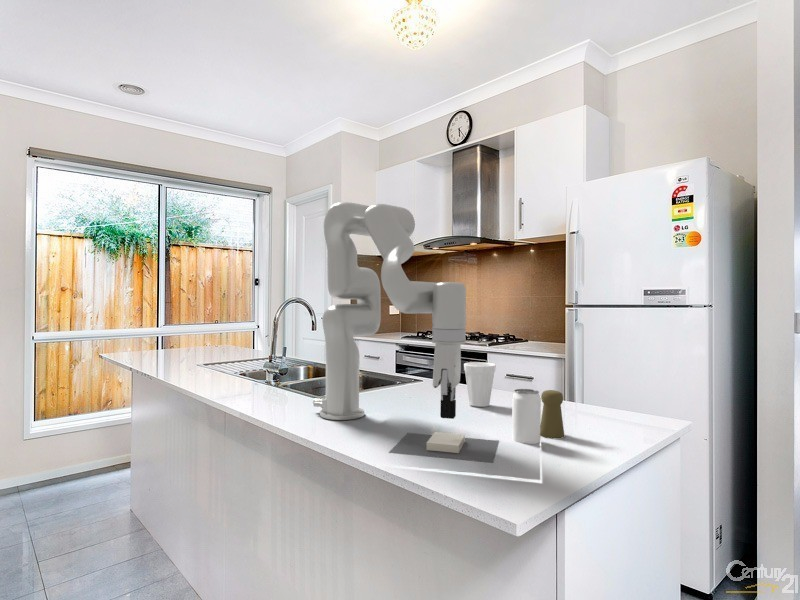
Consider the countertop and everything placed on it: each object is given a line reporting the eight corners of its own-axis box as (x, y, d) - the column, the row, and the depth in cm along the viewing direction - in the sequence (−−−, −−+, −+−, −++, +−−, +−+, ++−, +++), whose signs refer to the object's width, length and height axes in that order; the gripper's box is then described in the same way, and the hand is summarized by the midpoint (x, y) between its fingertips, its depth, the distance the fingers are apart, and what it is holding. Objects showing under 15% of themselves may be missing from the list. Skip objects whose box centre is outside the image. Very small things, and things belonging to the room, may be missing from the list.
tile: (434, 439, 114) (426, 450, 106) (435, 431, 114) (426, 442, 106) (464, 441, 112) (458, 453, 104) (464, 434, 112) (458, 445, 104)
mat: (388, 455, 104) (388, 452, 104) (407, 435, 120) (407, 432, 120) (493, 465, 98) (493, 462, 98) (499, 443, 114) (499, 440, 114)
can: (535, 447, 110) (536, 394, 110) (508, 443, 114) (508, 391, 114) (543, 440, 116) (544, 390, 116) (517, 436, 119) (517, 387, 119)
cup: (475, 400, 161) (475, 361, 161) (501, 405, 154) (502, 364, 154) (456, 405, 153) (457, 363, 153) (483, 410, 146) (483, 367, 146)
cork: (551, 439, 117) (552, 393, 117) (533, 433, 122) (534, 389, 122) (570, 436, 120) (570, 391, 120) (551, 430, 125) (552, 387, 125)
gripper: (438, 333, 119) (438, 409, 119) (425, 338, 105) (424, 424, 105) (469, 334, 117) (469, 411, 117) (460, 339, 103) (459, 427, 103)
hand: (448, 417), depth 111 cm, fingers closed
